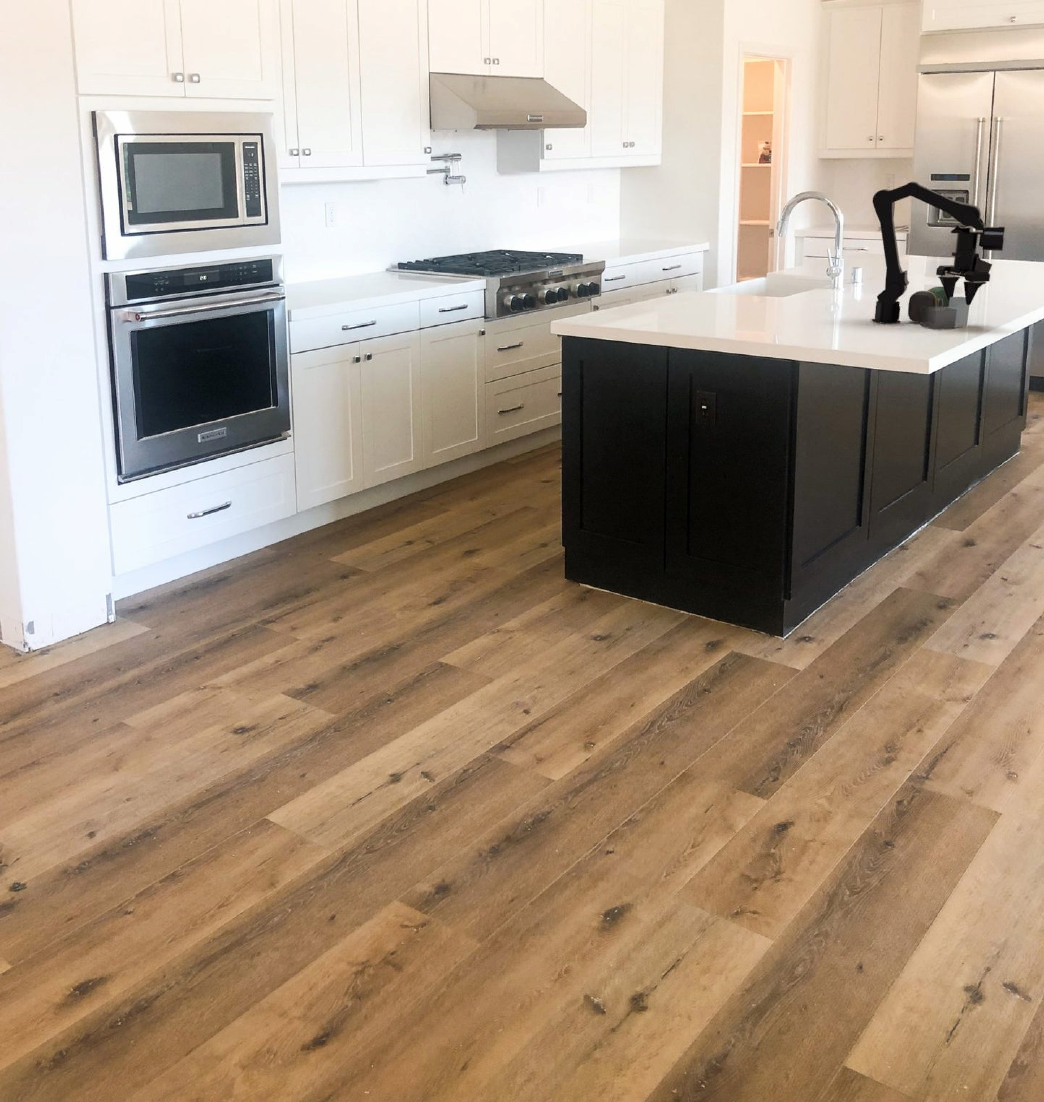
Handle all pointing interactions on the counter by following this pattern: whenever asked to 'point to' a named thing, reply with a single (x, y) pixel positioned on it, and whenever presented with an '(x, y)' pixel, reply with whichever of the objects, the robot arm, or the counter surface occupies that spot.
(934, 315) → the housing
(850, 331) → the counter surface
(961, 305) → the end cover
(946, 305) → the coffee jar
